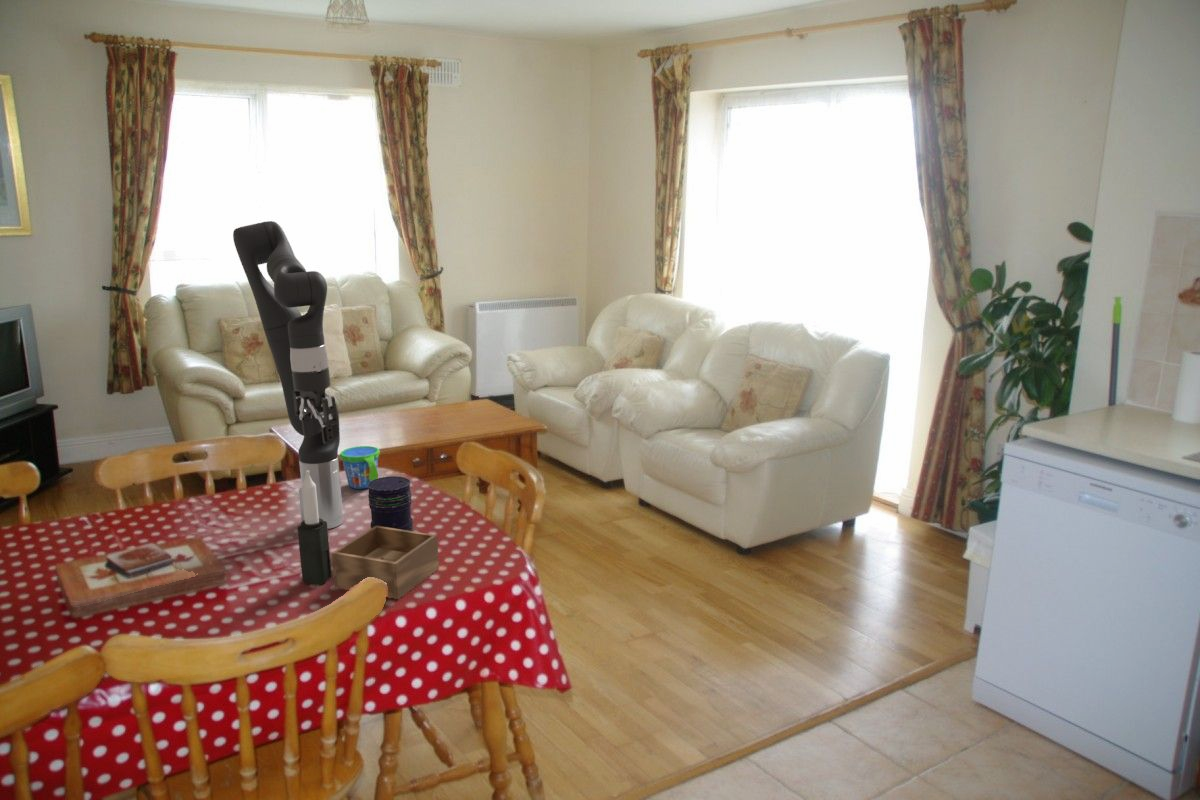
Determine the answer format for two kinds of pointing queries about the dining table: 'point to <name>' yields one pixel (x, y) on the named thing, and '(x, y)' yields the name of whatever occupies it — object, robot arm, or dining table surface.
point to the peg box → (386, 559)
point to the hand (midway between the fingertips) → (318, 439)
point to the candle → (313, 539)
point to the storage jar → (391, 503)
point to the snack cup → (360, 465)
